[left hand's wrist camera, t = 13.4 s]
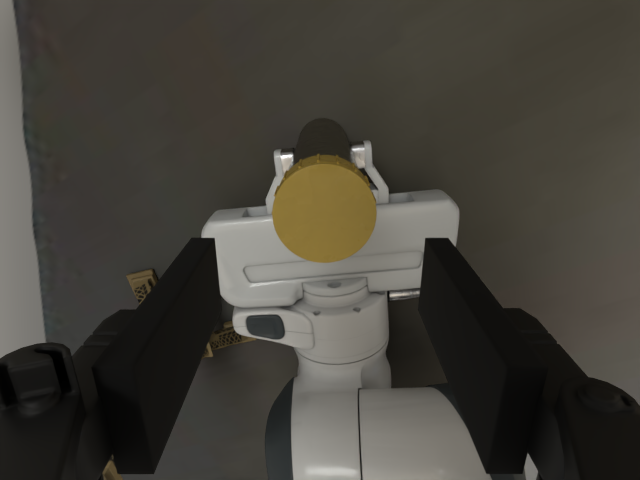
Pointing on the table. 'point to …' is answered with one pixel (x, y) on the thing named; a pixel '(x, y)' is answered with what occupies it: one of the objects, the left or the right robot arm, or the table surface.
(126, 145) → the table surface
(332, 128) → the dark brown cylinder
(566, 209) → the table surface
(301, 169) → the lid
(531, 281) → the table surface
